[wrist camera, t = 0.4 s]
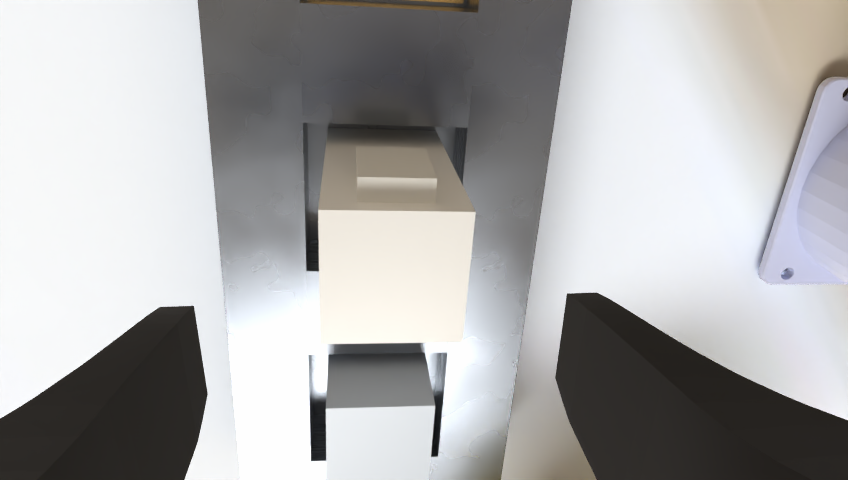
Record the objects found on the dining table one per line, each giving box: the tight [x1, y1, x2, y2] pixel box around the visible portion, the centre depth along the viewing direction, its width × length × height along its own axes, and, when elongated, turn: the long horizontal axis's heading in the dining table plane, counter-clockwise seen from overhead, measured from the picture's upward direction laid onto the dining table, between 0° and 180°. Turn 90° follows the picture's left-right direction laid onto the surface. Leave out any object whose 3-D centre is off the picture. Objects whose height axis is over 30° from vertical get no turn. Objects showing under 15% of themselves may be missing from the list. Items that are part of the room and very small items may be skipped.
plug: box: [318, 128, 476, 344], centre depth 17 cm, size 4×4×7 cm
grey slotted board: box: [198, 0, 572, 480], centre depth 20 cm, size 10×24×2 cm, turn 176°
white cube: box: [326, 353, 435, 480], centre depth 22 cm, size 4×4×4 cm
